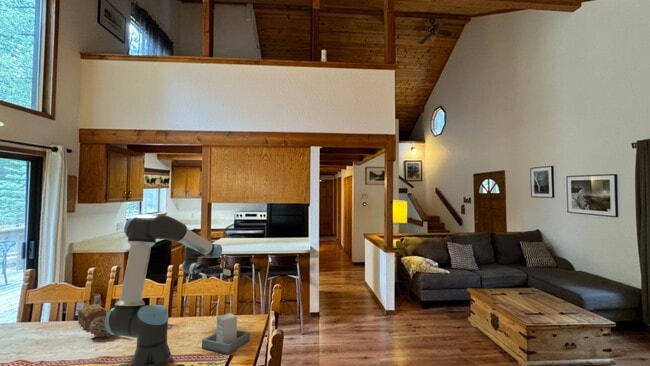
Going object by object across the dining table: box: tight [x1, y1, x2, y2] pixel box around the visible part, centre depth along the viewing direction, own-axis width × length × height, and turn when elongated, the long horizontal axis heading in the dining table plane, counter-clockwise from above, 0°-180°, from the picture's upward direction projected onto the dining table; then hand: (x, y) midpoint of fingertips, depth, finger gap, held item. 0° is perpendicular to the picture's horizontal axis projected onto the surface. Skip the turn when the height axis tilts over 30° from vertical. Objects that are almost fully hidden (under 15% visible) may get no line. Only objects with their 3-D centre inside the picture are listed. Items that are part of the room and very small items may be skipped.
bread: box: [77, 303, 108, 330], centre depth 180 cm, size 19×11×10 cm, turn 47°
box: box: [201, 329, 251, 355], centre depth 153 cm, size 16×16×4 cm
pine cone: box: [88, 316, 112, 338], centre depth 162 cm, size 22×10×10 cm, turn 89°
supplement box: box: [216, 312, 238, 344], centre depth 153 cm, size 7×7×13 cm
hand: (218, 275), depth 162 cm, fingers open, 13 cm apart
